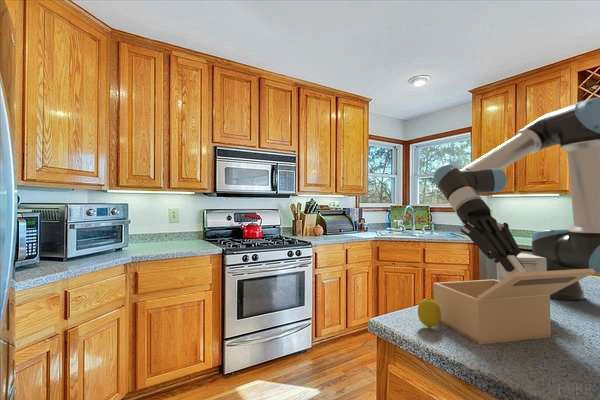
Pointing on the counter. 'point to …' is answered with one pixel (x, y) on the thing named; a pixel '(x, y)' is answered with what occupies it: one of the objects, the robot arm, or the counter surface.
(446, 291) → the carton
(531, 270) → the supplement box
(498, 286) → the carton flap
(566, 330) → the counter surface
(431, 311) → the lemon
